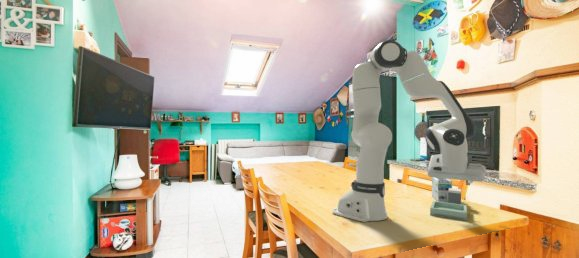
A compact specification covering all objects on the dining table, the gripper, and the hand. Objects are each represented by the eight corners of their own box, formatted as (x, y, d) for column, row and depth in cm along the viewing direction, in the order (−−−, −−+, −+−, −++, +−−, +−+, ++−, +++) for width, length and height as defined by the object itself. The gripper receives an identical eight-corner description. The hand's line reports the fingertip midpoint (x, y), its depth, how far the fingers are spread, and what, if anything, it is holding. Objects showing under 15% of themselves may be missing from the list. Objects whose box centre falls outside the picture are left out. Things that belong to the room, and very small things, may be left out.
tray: (430, 214, 116) (430, 207, 116) (432, 207, 127) (432, 200, 127) (466, 220, 109) (466, 213, 109) (466, 212, 120) (466, 205, 120)
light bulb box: (452, 202, 134) (452, 180, 134) (437, 202, 136) (437, 180, 136) (444, 197, 145) (445, 176, 145) (431, 196, 146) (431, 176, 146)
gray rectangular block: (448, 207, 127) (448, 190, 127) (448, 204, 131) (448, 188, 131) (460, 209, 124) (461, 191, 124) (461, 206, 129) (461, 189, 129)
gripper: (485, 158, 106) (484, 179, 115) (427, 155, 117) (429, 174, 126) (486, 171, 103) (484, 191, 111) (425, 167, 113) (428, 186, 122)
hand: (454, 182), depth 118 cm, fingers open, 8 cm apart
